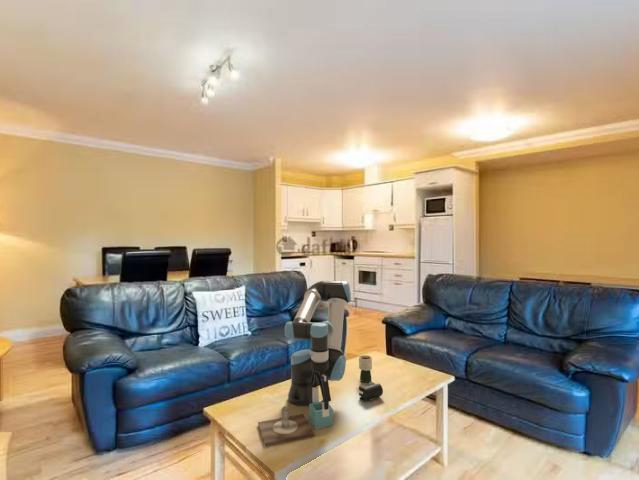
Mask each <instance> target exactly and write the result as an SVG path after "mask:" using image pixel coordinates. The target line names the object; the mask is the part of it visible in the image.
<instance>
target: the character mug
mask: <svg viewBox="0 0 639 480" xmlns="http://www.w3.org/2000/svg"><path fill="white" fill-rule="evenodd" d="M358 368H359V370H360V375H359V380H360V381H361V382H367V383H370V382H372V374H371V370H372V369H373V358H372V356H371V355H366V354H364V355H360V356H359V357H358Z"/></svg>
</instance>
